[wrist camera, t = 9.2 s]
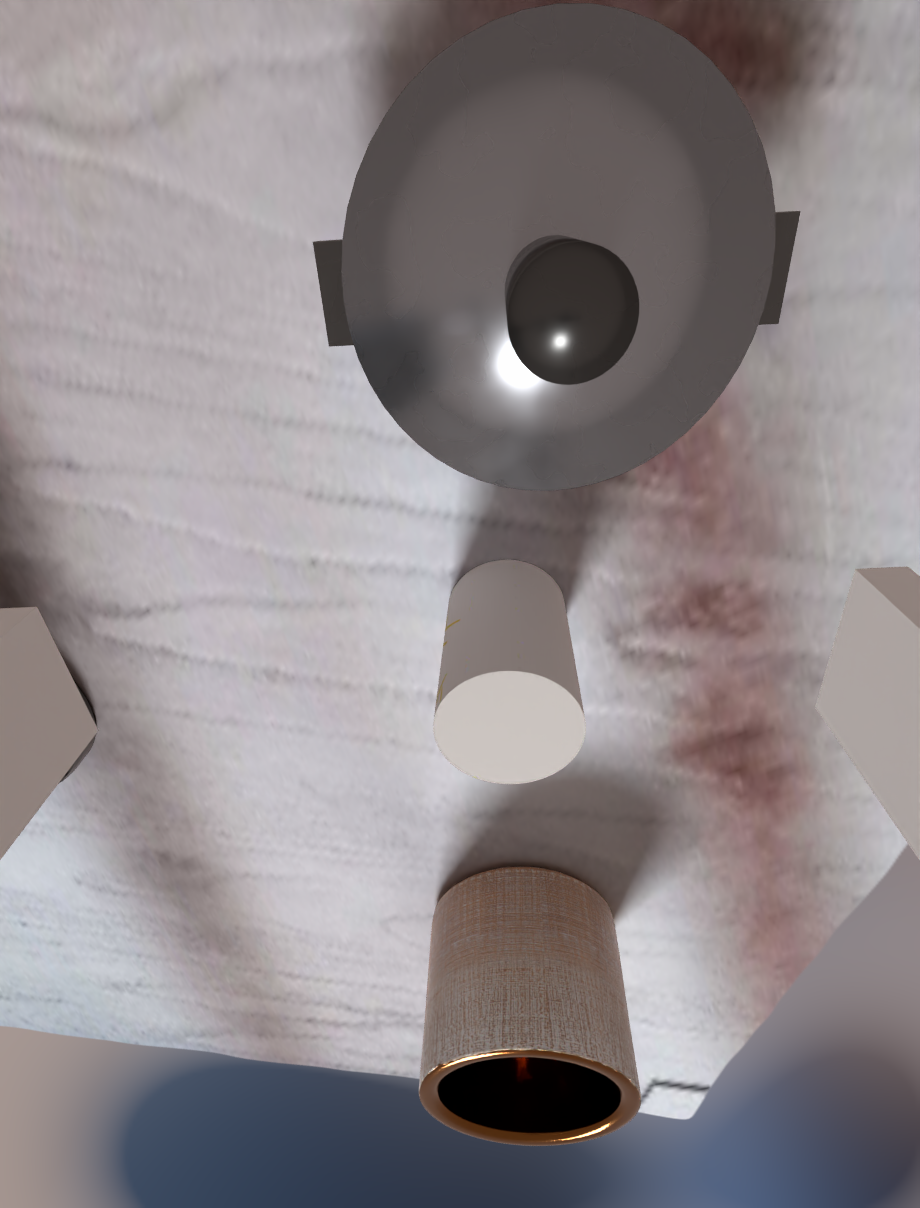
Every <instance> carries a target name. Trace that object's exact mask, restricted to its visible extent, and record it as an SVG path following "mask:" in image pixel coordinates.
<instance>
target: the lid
mask: <svg viewBox="0 0 920 1208" xmlns="http://www.w3.org/2000/svg"><path fill="white" fill-rule="evenodd" d="M774 252H775V205H774V197H773V189H772V181H771V176H770V172H769V168H768V164H767V160H766V157H765V153H764V149H763V145H762V143H761V140H760V138H759V136H758V133H757V131H756V128H755V126H754V124H753V121H752V119H751V116H750V114H749V113H748V111H747V109H746V108H745V106H744V104H743V103H742V101H741V99H740V98H739V96H738V94H737V93H736V91H735V89H734V88H733V86H732V85H731V83H730V82H729V81H728V80H727V79H726V78H725V76H724V75H723V74H722V73H721V72H720V70H719V69H718V68H717V67H716V66H715V64H714V63H713V62H712V61H711V60H710V59H709V58H708V57H707V56H706V55H704V54H703V53H702V52H701V51H700V50H699V49H697V48H696V47H695V46H694V45H693V44H692V43H690V42H689V41H688V40H687V39H686V38H684V37H683V36H681V35H679V34H678V33H676V32H674V31H672V30H671V29H669V28H667V27H666V26H664V25H662V24H661V23H659V22H657V21H655V20H652V19H650V18H647V17H644V16H642V15H639V14H636V13H634V12H631V11H628V10H625V9H621V8H615V7H609V6H604V5H598V4H592V3H557V4H552V5H546V6H541V7H535V8H529V9H524V10H521V11H518V12H515V13H513V14H510V15H507V16H504V17H501V18H499V19H496V20H493V21H491V22H489V23H487V24H485V25H483V26H482V27H480V28H478V29H476V30H474V31H472V32H471V33H469V34H467V35H465V36H463V37H462V38H460V39H459V40H457V41H456V42H455V43H453V44H452V45H451V46H449V47H448V48H447V49H445V50H444V51H443V52H442V53H440V54H439V55H438V56H436V57H435V58H434V59H432V60H431V61H430V62H429V63H428V64H427V66H426V67H425V68H424V69H423V70H422V71H421V72H420V73H419V74H418V75H417V76H416V77H415V78H414V79H413V80H412V81H411V82H410V83H409V84H408V85H407V86H406V88H405V89H404V90H403V92H402V93H401V94H400V96H399V97H398V98H397V100H396V101H395V102H394V104H393V105H392V106H391V108H390V109H389V110H388V112H387V113H386V115H385V117H384V118H383V120H382V122H381V124H380V125H379V127H378V129H377V131H376V133H375V134H374V136H373V138H372V140H371V141H370V143H369V146H368V148H367V150H366V153H365V155H364V158H363V160H362V163H361V165H360V168H359V170H358V172H357V175H356V178H355V182H354V186H353V189H352V193H351V197H350V200H349V204H348V207H347V214H346V220H345V227H344V234H343V240H342V269H341V273H342V285H343V298H344V306H345V311H346V316H347V321H348V326H349V331H350V334H351V337H352V340H353V343H354V347H355V350H356V353H357V356H358V359H359V361H360V363H361V365H362V368H363V370H364V372H365V374H366V376H367V378H368V381H369V383H370V385H371V386H372V388H373V390H374V391H375V393H376V394H377V396H378V398H379V399H380V401H381V403H382V404H383V406H384V407H385V409H386V410H387V411H388V412H389V414H390V415H391V416H392V417H393V419H394V420H395V421H396V422H397V424H398V425H399V426H400V427H401V428H402V429H403V430H404V431H405V432H406V433H407V434H408V435H409V436H410V437H411V438H412V439H413V440H414V441H415V442H416V443H417V444H418V445H419V446H421V447H422V448H423V449H425V450H426V451H427V452H429V453H430V454H431V455H433V456H434V457H435V458H436V459H438V460H440V461H441V462H443V463H445V464H447V465H448V466H450V467H452V468H453V469H455V470H457V471H459V472H461V473H464V474H466V475H468V476H471V477H473V478H475V479H478V480H480V481H484V482H487V483H491V484H495V485H498V486H502V487H508V488H514V489H521V490H540V491H551V490H562V489H572V488H577V487H581V486H586V485H590V484H595V483H598V482H601V481H604V480H607V479H610V478H613V477H616V476H618V475H621V474H623V473H625V472H627V471H629V470H631V469H633V468H635V467H637V466H639V465H641V464H643V463H645V462H646V461H648V460H650V459H651V458H653V457H654V456H656V455H658V454H659V453H661V452H662V451H664V450H665V449H667V448H668V447H669V446H670V445H672V444H673V443H674V442H675V441H677V440H678V439H679V438H680V437H682V436H683V435H684V434H685V433H686V432H687V431H688V430H689V429H690V428H691V427H692V426H693V425H694V424H695V423H696V422H697V421H698V420H699V419H700V418H701V417H702V416H703V415H704V414H705V413H706V412H707V411H708V410H709V408H710V407H711V406H712V405H713V403H714V402H715V401H716V400H717V398H718V397H719V396H720V395H721V393H722V392H723V391H724V389H725V388H726V386H727V385H728V383H729V382H730V380H731V378H732V377H733V375H734V374H735V372H736V371H737V369H738V367H739V366H740V364H741V362H742V360H743V358H744V356H745V354H746V352H747V350H748V348H749V346H750V344H751V342H752V340H753V337H754V335H755V332H756V329H757V326H758V324H759V321H760V318H761V315H762V313H763V310H764V306H765V302H766V298H767V294H768V289H769V285H770V281H771V276H772V268H773V260H774Z"/></svg>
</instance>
